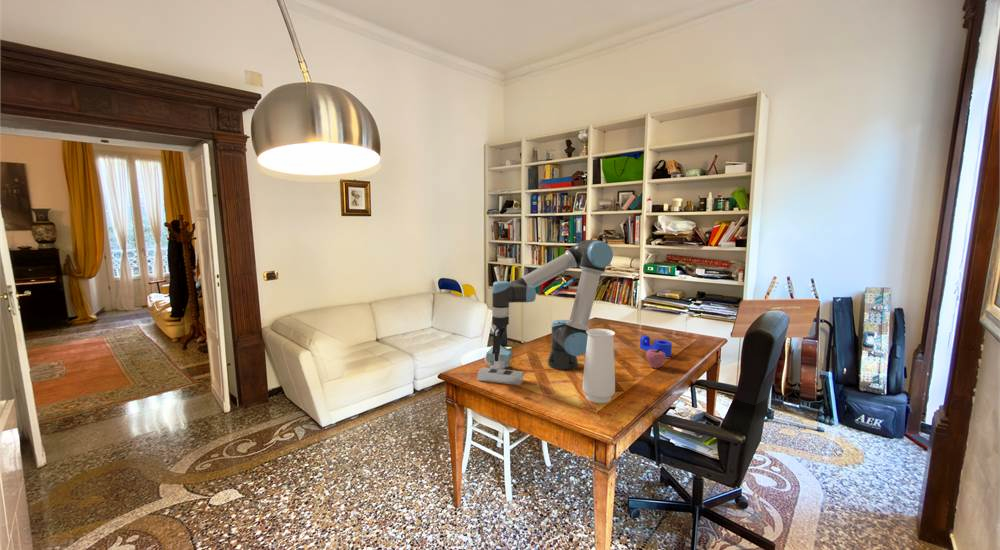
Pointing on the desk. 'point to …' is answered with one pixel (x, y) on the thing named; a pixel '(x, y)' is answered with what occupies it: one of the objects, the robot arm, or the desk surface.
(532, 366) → the desk surface
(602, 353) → the vase
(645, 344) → the bracket
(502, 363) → the mug
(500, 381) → the grey block with holes
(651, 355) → the apple
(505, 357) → the pale blue memo pad
